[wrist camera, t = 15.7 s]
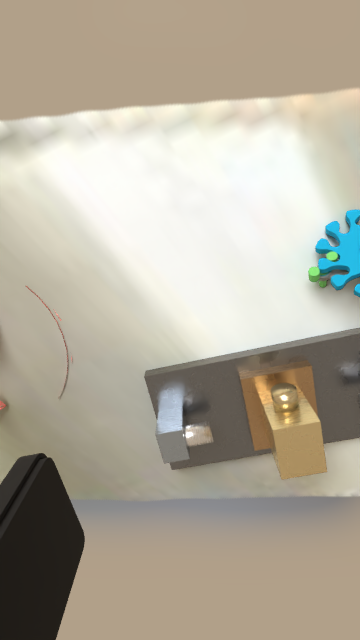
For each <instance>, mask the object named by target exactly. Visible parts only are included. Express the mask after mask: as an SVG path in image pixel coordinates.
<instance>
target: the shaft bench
mask: <svg viewBox="0 0 360 640" xmlns="http://www.w3.org/2000/svg"><path fill="white" fill-rule="evenodd" d="M144 377H145V381H146V384H147V387H148V391H149V394H150V398H151V401H152V404H153V408H154V411H155V414H156V418H157V427H156V434H155V435H156V438H157V442H158V445H159V448H160V451H161V455H162V458H163V461H164V463H170V465H171V469H172V470H174V469H180V468H186V467H192V466H197V465H203V464H209V463H215V462H220V461H226V460H232V459H238V458H243V457H249V456H255V455H261V454H267V453H272V450H271V448H270V445H269V442H268V439H267V436H266V432H265V426H264V421H263V416H262V411H261V405H260V400H259V395H258V392H262V391H267V390H271V388H272V387H273V386H274V385H276V384H280V383H290V384H293V385H298V386H299V388H300V390H301V391H302V393H303V394H304V396H305V398H306V399H307V401H308V402H309V404H310V406H311V407H312V409H313V410H314V412H315V413H316V415H317V417H318V418H319V420H320V422H321V429H322V437H323V444H324V443H330V442H336V441H341V440H347V439H353V438H359V437H360V328H356V329H351V330H346V331H341V332H336V333H331V334H326V335H321V336H316V337H311V338H306V339H301V340H296V341H291V342H286V343H281V344H277V345H272V346H267V347H262V348H257V349H252V350H247V351H242V352H237V353H232V354H227V355H222V356H217V357H212V358H207V359H202V360H197V361H193V362H188V363H183V364H178V365H173V366H168V367H163V368H158V369H153V370H148V371H146V372H145V376H144Z"/></svg>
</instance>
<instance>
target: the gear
mask: <svg viewBox="0 0 360 640" xmlns="http://www.w3.org/2000/svg"><path fill="white" fill-rule="evenodd" d="M359 219H360V210H350V211H347V213H346V221H347V222H348V224H349V226H350V231H349V232H348V233H346V234H341V233H340V232H339V227H340V225H339V223H338V222H337V221H334V222H331V223H330V224H328V225H327V226H326V234H327V235H329V236H332V237H334V238H335V239H336V240H337V241H338V243H339V246H337V247H332V246H330V244H329V242H328V241H327V240H326V239H320V240H319V241H318V243H317V245H316V252H317V253H319V254H327V256H326V258H321V259H319V261H318V266H317V267H311V268H310V269H309V271H308V273H309V280H310V281H311V282H317V281H318V280H319V286H320V287H322V288H323V287H326V285H327V280H330V279H331V284H332V286H333V287H334V288H335V289H336V290H341V289H342V288H343V287H344V286H345V284H346V283H347V282H349V281H350V280H352V279H355V278H358V277H360V225H357V224H356V223H357V222H358V221H359ZM337 259H339V260H338V261H337ZM354 294H355V295H356V296H358V297H360V284H358V285H356V286H355V289H354Z"/></svg>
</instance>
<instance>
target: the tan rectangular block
mask: <svg viewBox="0 0 360 640" xmlns="http://www.w3.org/2000/svg"><path fill="white" fill-rule="evenodd" d="M258 395H259V400H260V405H261V411H262V416H263V421H264V426H265V432H266V436H267V439H268V442H269V445H270V448H271V450H272V453H273V456H274V459H275V462H276V465H277V468H278V471H279V473H280V476H281V479H288V478H294V477H300V476H305V475H311V474H317V473H323V472H327V468H326V460H325V453H324V445H323V437H322V429H321V422H320V420H319V418H318V417H317V415H316V413H315V412H314V410H313V409H312V407H311V406H310V404H309V402H308V401H307V399H306V398H305V396H304V394H303V393H302V391H301V390H300V388H299V386H298V385H293V384H290V383H280V384H276V385H274V386H273V387H272V388H271V390H267V391H262V392H258Z"/></svg>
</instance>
